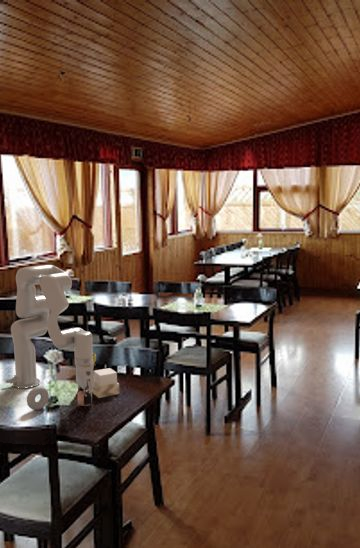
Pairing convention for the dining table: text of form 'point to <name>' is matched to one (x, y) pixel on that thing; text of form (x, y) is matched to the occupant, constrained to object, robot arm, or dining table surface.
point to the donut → (32, 396)
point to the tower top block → (105, 377)
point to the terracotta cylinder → (82, 398)
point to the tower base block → (105, 390)
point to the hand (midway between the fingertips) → (84, 401)
